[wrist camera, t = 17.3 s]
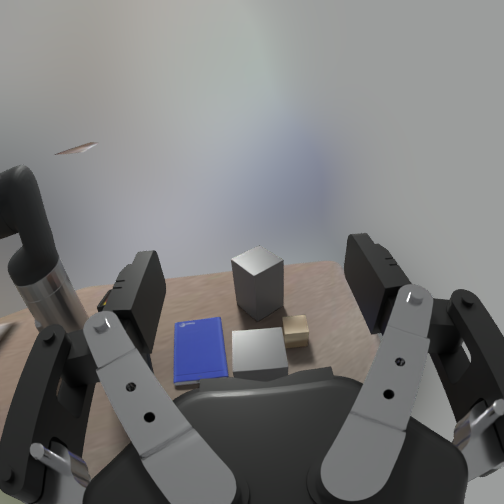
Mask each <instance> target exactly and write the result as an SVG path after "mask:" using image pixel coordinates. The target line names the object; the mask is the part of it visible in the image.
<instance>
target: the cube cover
mask: <svg viewBox="0 0 504 504" xmlns="http://www.w3.org/2000/svg"><path fill="white" fill-rule="evenodd" d="M232 349H233V375H234V378H240V379H246V380H254V381H261V382H269V381H272V380H275V379H278V378H281V377H284V376H287V375H288V362H287V356H286V350H285V344H284V338H283V332H282V327H277V328H266V329H255V330H242V331H232Z"/></svg>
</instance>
